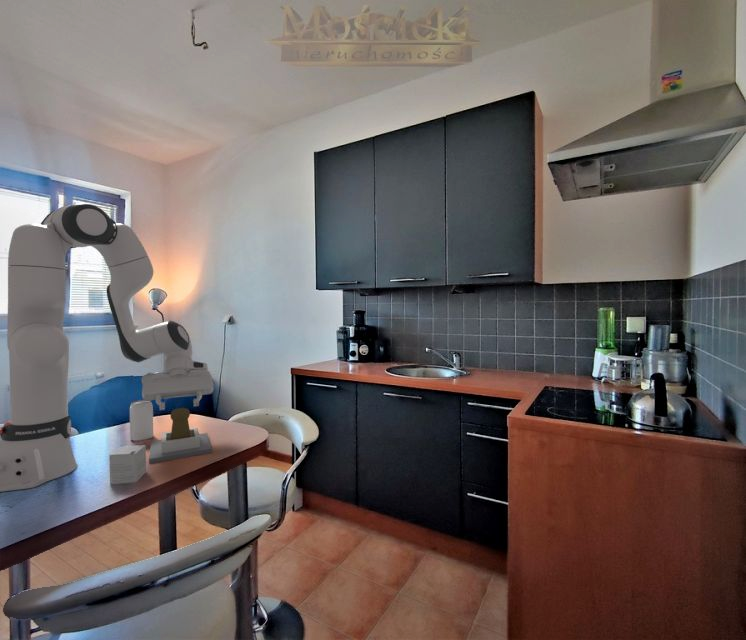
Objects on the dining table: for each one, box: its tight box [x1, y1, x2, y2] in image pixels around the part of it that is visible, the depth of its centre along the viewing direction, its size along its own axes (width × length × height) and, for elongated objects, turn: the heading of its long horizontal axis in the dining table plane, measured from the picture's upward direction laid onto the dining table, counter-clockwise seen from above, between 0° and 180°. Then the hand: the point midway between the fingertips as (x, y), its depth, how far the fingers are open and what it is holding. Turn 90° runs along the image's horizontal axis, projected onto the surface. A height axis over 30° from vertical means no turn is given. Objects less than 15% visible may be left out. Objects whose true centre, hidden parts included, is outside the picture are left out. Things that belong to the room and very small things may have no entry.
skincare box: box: [108, 444, 147, 485], centre depth 95 cm, size 6×6×7 cm
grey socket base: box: [148, 427, 213, 464], centre depth 115 cm, size 16×16×4 cm
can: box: [129, 399, 154, 442], centre depth 124 cm, size 6×6×12 cm
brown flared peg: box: [170, 407, 191, 440], centre depth 115 cm, size 6×6×11 cm
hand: (179, 407), depth 117 cm, fingers open, 8 cm apart
